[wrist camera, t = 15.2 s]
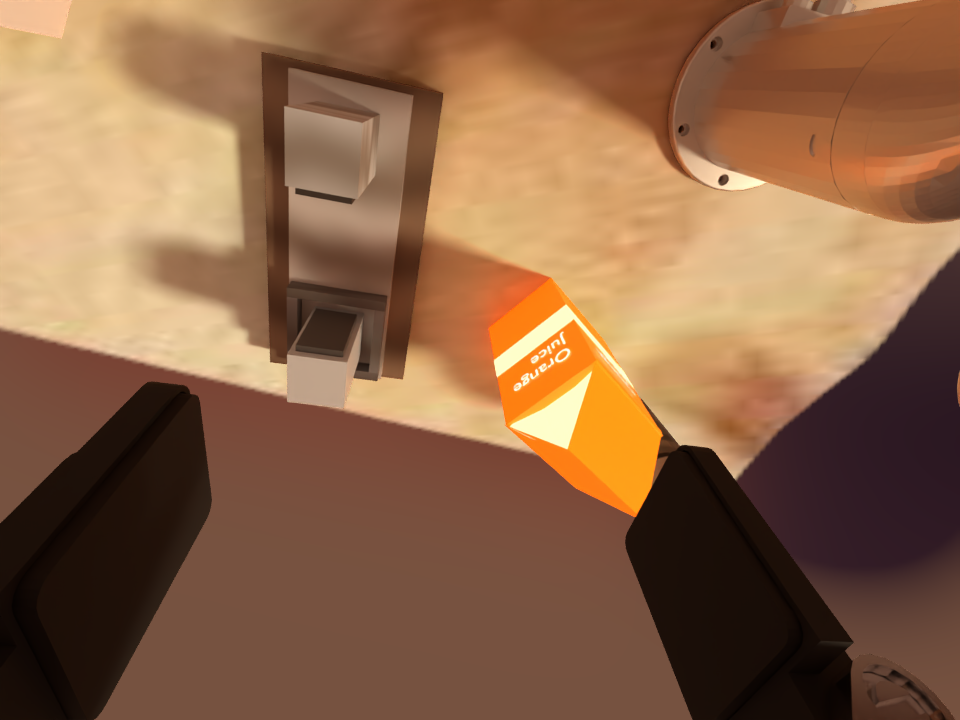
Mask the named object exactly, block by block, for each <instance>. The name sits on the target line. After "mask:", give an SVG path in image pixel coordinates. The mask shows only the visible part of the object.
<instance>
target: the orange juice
mask: <svg viewBox="0 0 960 720" xmlns="http://www.w3.org/2000/svg"><path fill="white" fill-rule="evenodd" d="M489 333H490V339H491V344H492V350H493V355H494V364H495V370H496V376H497V378H498V383H499V388H500V394H501V399H502V405H503V410H504V416H505V421H506V425H507V426H506V425H505V426H506V427H508V428H509V429H510V430H511V431H512V432H513V433H514V434H515V435H517V436H518V437H519V438H520V439H521V440H522V441H523V442H524V443H526V444H527V445H528V446H529V447H530V448H531V449H532V450H533V451H535V452H536V453H537V454H538V455H539V456H540V457H541V458H542V459H544V460H545V461H546V462H547V463H548V464H549V465H550V466H551V467H552V468H554V469H555V470H556V471H557V472H558V473H559V474H560V475H561V476H563V477H564V478H565V479H566V480H567V481H568V482H569V483H570V484H572V485H573V486H574V487H575V488H577V489H579V490H581V491H583V492H585V493H587V494H589V495H591V496H593V497H595V498H597V499H599V500H601V501H603V502H605V503H607V504H609V505H611V506H613V507H616V508H617V509H619V510H621V511H624V512H626V513H628V514H630V515H632V516H634V517H636V515H637V513H638V511H639V510H640V508H641V506H642V504H643V502H644V500H645V498H646V497H647V495H648V493H649V491H650V489H651V485H652V480H653V475H654V469H655V464H656V459H657V454H658V449H659V444H660V439H661V437H662V436H663V435H662V432H661V430H660V429H659V428H658V427H657V425H656V424H655V422H654V421H653V419H652V417H651V416H650V414H649V412H648V411H647V409H646V408H645V406H644V404H643V403H642V401H641V400H640V398H639V396H638V395H637V393H636V392H635V390H634V387H633V386H632V384H631V382H630V381H629V379H628V378H627V376H626V374H625V373H624V371H623V370H622V369H621V367H620V366H619V364H618V362H617V361H616V359H615V358H614V356H613V354H612V353H611V351H610V350H609V348H608V346H607V345H606V343H605V341H604V340H603V339H602V337H601V336H600V335H599V334H598V333H597V331H596V330H595V329H594V328H593V327H592V326H591V324H590V323H589V322H588V321H587V320H586V318H585V317H584V316H583V315H582V314H581V313H580V311H579V310H578V309H577V308H576V307H575V305H574V304H573V303H572V302H571V301H570V300H569V298H568V297H567V296H566V295H565V294H564V292H563V291H562V290H561V289H560V288H559V286H558V285H557V284H556V283H555V282H554V281H553V279H552V278H550V279H549V280H548V281H547V282H545V283H544V284H543V285H542V286H540V287H539V288H538V289H537V290H535V291H534V292H533V293H532V294H530V295H529V296H528V297H527V298H525V299H524V300H523V301H522V302H520V303H519V304H518V305H517V306H515V307H514V308H513V309H512V310H511V311H509V312H508V313H507V314H506V315H504V316H503V317H502V318H501V319H499V320H498V321H497V322H496V323H494V324H493V325H492V326H491V327H489Z"/></svg>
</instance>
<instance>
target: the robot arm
mask: <svg viewBox="0 0 960 720" xmlns="http://www.w3.org/2000/svg"><path fill="white" fill-rule="evenodd" d="M852 1H853V0H817V1H815V2H814V4H813V2H812V1H810V0H762V1H759V2H756V3H752V4H749V5H747V6H745V7H743V8H741V9H739V10H737V11H735V12H733V13H731V14H729V15H728V16H727V17H725V18H724V19H723V20H721V21H720V22H719V23H717V24H716V25H715V26H714V27H713V28H712V29H711V30H710V31H709V32H708V33H707V34H706V35H705V36H704V37H703V38H702V39H701V40H700V41H699V43H698V44H697V45H696V47H695V48H694V50H693V51H692V52H691V54H690V55H689V56H688V58H687V60H686V62H685V64H684V66H683V68H682V69H681V71H680V73H679V75H678V78H677V81H676V84H675V87H674V89H673V92H672V97H671V102H670V107H669V119H668V130H669V137H670V143H671V147H672V149H673V152H674V155H675V157H676V159H677V161H678V162H679V164H680V165H681V167H682V169H683V170H684V171H685V172H686V173H687V174H688V175H689V176H690V177H691V178H693V179H694V180H696V181H698V182H699V183H701V184H703V185H705V186H708V187H711V188H714V189H717V190H724V191H743V190H747V189H751V188H755V187H759V186H761V185H763V184H765V183H771V184H774V185H777V186H780V187H783V188H787V189H790V190H793V191H796V192H799V193H803V194H806V195H809V196H812V197H816V198H819V199H822V200H825V201H828V202H832V203H835V204H838V205H841V206H844V207H848V208H851V209H854V210H857V211H861V212H864V213H867V214H870V215H874V216H877V217H881V218H884V219H888V220H892V221H897V222H903V223H915V224H929V223H940V222H949V221H954V220H959V219H960V0H920V1H914V2H908V3H903V4H897V5H891V6H885V7H879V8H873V9H867V10H862V11H856V12H854V10H855V8H856V6H855V5H854V4H852ZM711 41H713V47H712V48H710V44H711ZM680 125H681V127H682V129H681V131H680V132H678V129H679V127H680ZM720 176H721V177H720ZM719 177H720V180H718V179H719ZM957 391H958V402H959V405H960V373H959V378H958V386H957ZM208 473H209V472H208V464H207V456H206V448H205V440H204V432H203V424H202V416H201V408H200V401H199V398H198V396H196V395H192V394H190V391H189V389H188V388H187V387H186V386H184V385H177V384H168V383H160V382H147V383H146V384H145V385H143V386H142V387H141V388H140V389H139V390H138V391H137V392H136V393H135V394H134V395H133V396H132V397H131V398H130V399H129V400H128V401H127V402H126V403H125V404H124V405H123V406H122V407H121V408H120V409H119V410H118V411H117V412H116V413H115V415H114V416H113V417H112V418H110V419H109V421H108V422H107V423H106V424H105V425H104V426H103V427H102V428H101V429H100V430H99V431H98V432H97V433H96V434H95V435H94V436H93V437H92V438H91V439H90V440H89V441H88V442H87V443H86V444H85V445H84V446H83V447H82V448H81V449H80V450H79V451H78V452H76V453H74V454H72V455H70V456H69V457H68V458H66V459H65V460H64V461H63V462H62V463H61V464H60V465H59V466H58V467H57V468H56V469H55V470H54V471H53V472H52V473H51V474H50V475H49V476H48V477H47V478H46V479H45V480H44V481H43V482H42V483H41V484H40V485H39V486H38V487H37V488H36V489H35V490H34V491H33V492H32V493H31V494H30V495H29V496H28V497H27V498H26V499H25V500H24V501H23V502H22V503H21V504H20V505H19V506H18V507H17V508H16V509H15V510H14V511H13V512H12V513H11V514H10V515H9V516H8V517H7V518H6V519H5V520H3V521H2V522H1V523H0V720H94V719H96V718H97V716H98V715H99V714H100V713H101V712H102V710H103V708H104V707H105V705H106V703H107V702H108V700H109V698H110V696H111V694H112V692H113V690H114V689H115V687H116V685H117V683H118V681H119V680H120V678H121V676H122V674H123V672H124V670H125V668H126V667H127V665H128V663H129V661H130V659H131V657H132V656H133V654H134V652H135V650H136V648H137V646H138V645H139V643H140V641H141V639H142V637H143V635H144V633H145V632H146V630H147V628H148V626H149V624H150V622H151V621H152V619H153V617H154V615H155V613H156V611H157V610H158V608H159V606H160V604H161V602H162V600H163V598H164V597H165V595H166V593H167V591H168V589H169V587H170V586H171V584H172V582H173V580H174V578H175V576H176V574H177V573H178V571H179V569H180V567H181V565H182V563H183V562H184V560H185V558H186V556H187V554H188V552H189V551H190V549H191V547H192V545H193V543H194V541H195V539H196V538H197V536H198V534H199V532H200V530H201V528H202V527H203V525H204V523H205V521H206V519H207V517H208V515H209V512H210V508H211V502H212V498H211V489H210V481H209V474H208ZM625 544H626V550H627V553H628V555H629V558H630V561H631V563H632V566H633V568H634V571H635V573H636V576H637V578H638V581H639V584H640V586H641V589H642V591H643V594H644V597H645V599H646V602H647V604H648V607H649V609H650V612H651V615H652V617H653V620H654V622H655V625H656V627H657V630H658V633H659V635H660V638H661V640H662V643H663V645H664V648H665V651H666V653H667V655H668V658H669V661H670V663H671V666H672V668H673V671H674V674H675V676H676V679H677V681H678V684H679V686H680V689H681V692H682V694H683V697H684V699H685V702H686V704H687V707H688V710H689V712H690V714H691V717H692V719H693V720H955V719H954V717H953V715H952V714H951V712H950V711H949V709H948V708H947V707H946V706H945V705H944V704H943V702H941V700H940V699H939V698H938V697H937V695H936V694H935V693H934V692H932V690H930V689H929V688H928V687H927V686H926V685H925V684H924V683H923V682H922V681H921V680H920V679H918V678H917V677H916V676H914V675H913V674H911V673H910V672H909V671H907V670H906V669H904V668H903V667H902V666H900V665H898V664H896V663H894V662H892V661H890V660H888V659H886V658H883V657H880V656H876V655H872V654H865V655H859V656H858V657H857V658H855V659H854V660H853V661H852V660H851V659H850V658H849V656H848V655H847V653H846V652H845V650H846V649H847V648H848V647H849V646H850V645H851V644H853V641H852V639H851V638H850V637H849V635H848V634H847V632H846V631H845V630H844V628H843V627H842V626H841V625H840V623H839V622H838V620H837V619H836V617H835V616H834V615H833V613H832V612H831V611H830V609H829V608H828V606H827V605H826V604H825V603H824V601H823V600H822V598H821V597H820V596H819V594H818V593H817V591H816V590H815V589H814V587H813V586H812V585H811V583H810V582H809V580H808V579H807V578H806V576H805V575H804V574H803V572H802V571H801V570H800V568H799V567H798V565H797V564H796V563H795V561H794V560H793V559H792V557H791V556H790V554H789V553H788V552H787V550H786V549H785V548H784V546H783V545H782V544H781V542H780V541H779V539H778V538H777V537H776V535H775V534H774V533H773V531H772V530H771V529H770V527H769V526H768V524H767V523H766V522H765V520H764V519H763V518H762V516H761V515H760V513H759V512H758V511H757V509H756V508H755V507H754V505H753V504H752V503H751V501H750V500H749V498H748V497H747V496H746V494H745V493H744V492H743V490H742V489H741V488H740V486H739V485H738V483H737V482H736V481H735V479H734V478H733V476H732V475H731V474H730V472H729V471H728V470H727V468H726V467H725V466H724V464H723V463H722V461H721V460H720V459H719V457H718V456H717V455H716V453H715V452H714V451H713V450H712V449H709V448H705V447H697V446H688V445H681V446H680V447H678V448H677V450H676V451H672V452H671V453H670V454H669V455H668V457H667V459H666V461H665V463H664V465H663V467H662V468H661V470H660V472H659V474H658V476H657V478H656V480H655V482H654V483H653V485H652V487H651V489H650V491H649V493H648V495H647V497H646V498H645V500H644V502H643V504H642V506H641V508H640V510H639V511H638V513H637V515H636V517H635V519H634V521H633V523H632V525H631V526H630V528H629V530H628V532H627V535H626V540H625Z"/></svg>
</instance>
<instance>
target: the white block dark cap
mask: <svg viewBox="0 0 960 720" xmlns="http://www.w3.org/2000/svg"><path fill="white" fill-rule="evenodd" d="M363 321H364V313H358V312H351V311H345V310H338V309H332V308H325V307H319V306H315V307H314V309H313V310H312V312H311V314H310V316H309V317H308V319H307V321H306V322H305V324H304V326H303V328H302V329H301V331H300V333H299V335H298V336H297V338H296V340H295V342H294V343H293V345H292V347H291V349H290V350H289V352H288V354H287V402H293V403H302V404H310V405H318V406H327V407H335V408H343V409H344V407H345V403H346V400H347V397H348V394H349V390H350V387H351V384H352V381H353V377H354V374H355V371H356V367H357V364H358V361H359V358H360V354H361V344H362V333H363Z"/></svg>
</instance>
